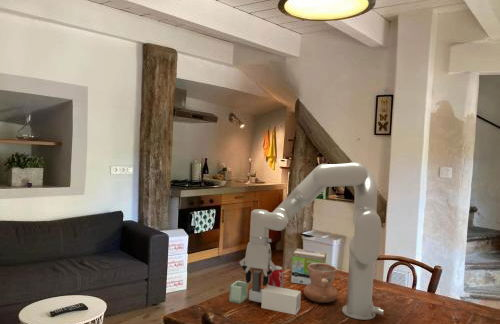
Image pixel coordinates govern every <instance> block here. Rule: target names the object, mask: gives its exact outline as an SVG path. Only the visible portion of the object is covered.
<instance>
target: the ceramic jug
mask: <svg viewBox="0 0 500 324" xmlns="http://www.w3.org/2000/svg"><path fill="white" fill-rule="evenodd" d="M308 273H309V277H310V280H311V283H310V284H308V285H305V287H304V288H303V294H304V296H305V297H306V298H307V299H308V300H310V301H312V302H315V303H319V304H328V303H331V302H334V301H336V299H337V298H338V297H339V292H338V290H337V288H336V287H334V286H333V285H332V284H333V281H334V279H335V277H336V274H337V267H336V266H334V265H332V264H328V263H326V264H325V263H312V264H309V265H308Z"/></svg>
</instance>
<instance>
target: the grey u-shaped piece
mask: <svg viewBox="0 0 500 324" xmlns="http://www.w3.org/2000/svg"><path fill="white" fill-rule="evenodd" d="M262 272H263V270H260V269H256V270H254V271H253V272H252V279H251V280H252V284H251V285H252V286H251V289H249V290H248V301H253V302H257V303H261V304H262V290H263V289H264V288H262V275H263V274H262Z"/></svg>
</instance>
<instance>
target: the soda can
mask: <svg viewBox="0 0 500 324" xmlns="http://www.w3.org/2000/svg"><path fill="white" fill-rule="evenodd" d="M275 266H276V269H275V270H274V271H273V272H272V273H271V274H269V277H268V284H267V285H266V287H267V286H268V285H270V286H275V287H280V288H284V276H285V273H284V272H285V271H284V270H283V266H280V265H275ZM270 269H271V266H270V267H268V270H270Z"/></svg>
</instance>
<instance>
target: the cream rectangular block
mask: <svg viewBox="0 0 500 324" xmlns="http://www.w3.org/2000/svg"><path fill="white" fill-rule="evenodd" d="M262 289H263V290H262V303H261V309H266V310H269V311H270V310H271V311H275V312H280V313H285V314H289V315H294V316H296V315H297V313H298V312H299V311H300V309H301V298H302V291H300V290H296V289H290V288H286V287H283V288H280V287H275V286H270V285H268V286H267V285H266V286H264V288H262Z"/></svg>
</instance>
